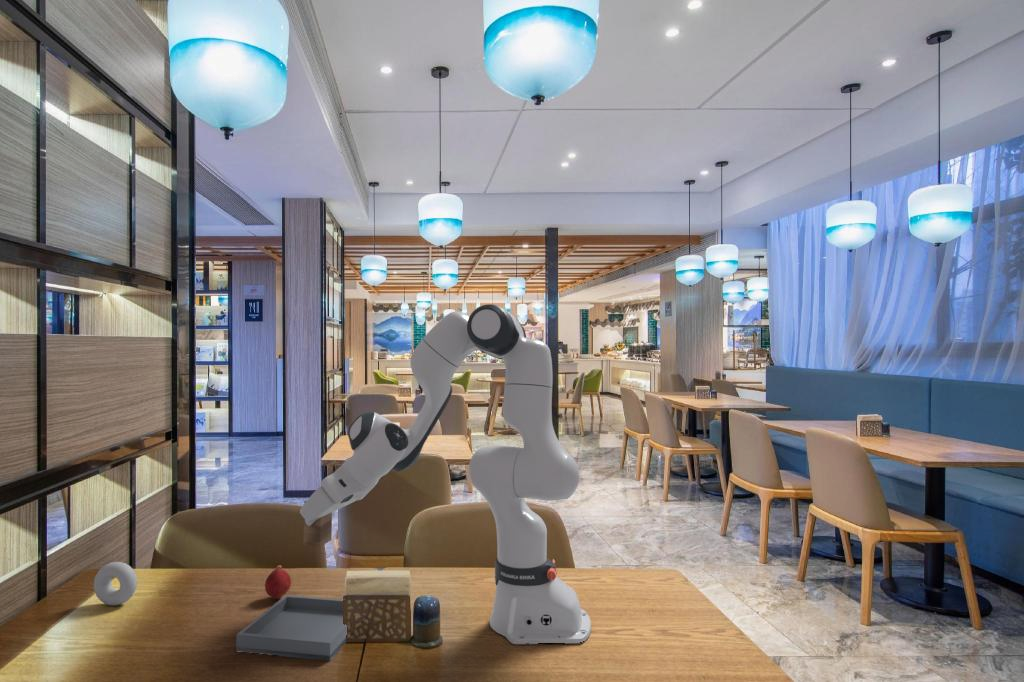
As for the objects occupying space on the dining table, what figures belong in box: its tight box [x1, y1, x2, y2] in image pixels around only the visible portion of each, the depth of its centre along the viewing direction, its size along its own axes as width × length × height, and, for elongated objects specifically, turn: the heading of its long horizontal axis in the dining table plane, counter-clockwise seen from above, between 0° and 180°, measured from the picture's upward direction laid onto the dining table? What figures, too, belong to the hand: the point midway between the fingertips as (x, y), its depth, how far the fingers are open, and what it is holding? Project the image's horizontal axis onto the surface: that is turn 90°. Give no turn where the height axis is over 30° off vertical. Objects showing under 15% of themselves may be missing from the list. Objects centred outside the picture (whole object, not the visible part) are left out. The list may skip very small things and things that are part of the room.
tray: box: [235, 594, 347, 662], centre depth 118 cm, size 20×18×4 cm
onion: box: [264, 565, 292, 600], centre depth 134 cm, size 6×6×8 cm
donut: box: [93, 561, 138, 607], centre depth 130 cm, size 10×4×10 cm, turn 85°
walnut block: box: [302, 500, 333, 547], centre depth 131 cm, size 4×4×10 cm
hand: (315, 519), depth 131 cm, fingers closed on walnut block, 4 cm apart
